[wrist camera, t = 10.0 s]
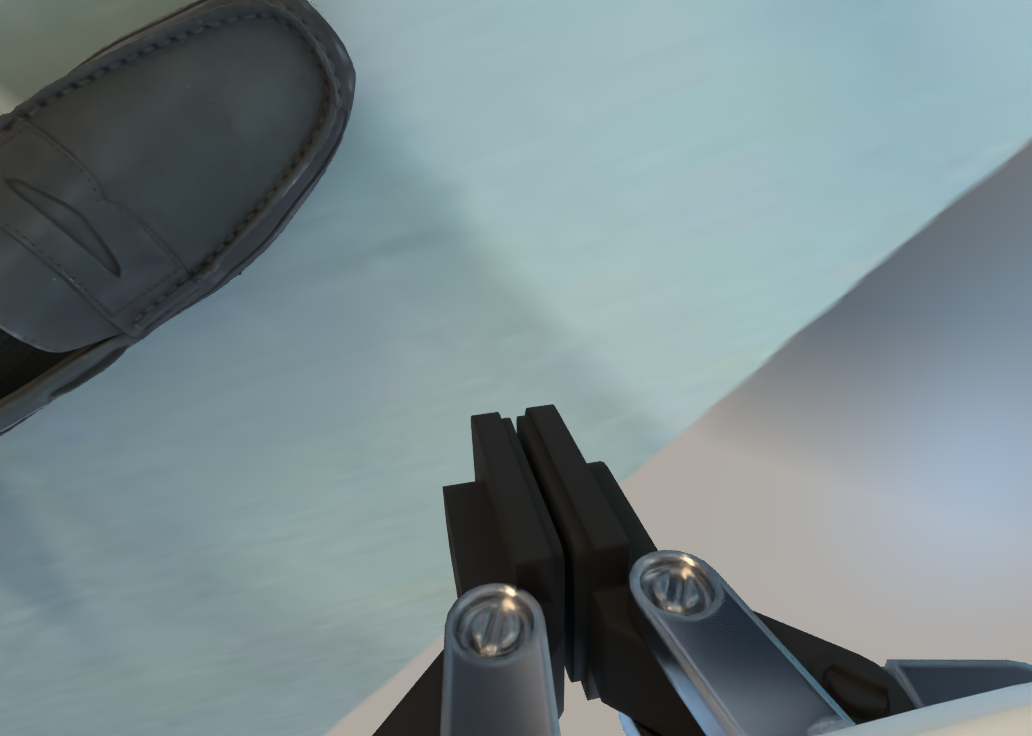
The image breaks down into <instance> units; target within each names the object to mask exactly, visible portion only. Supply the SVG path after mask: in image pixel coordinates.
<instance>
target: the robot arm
mask: <svg viewBox="0 0 1032 736" xmlns="http://www.w3.org/2000/svg"><path fill="white" fill-rule="evenodd" d="M471 429H472V443H473V456H474V470H475V482H469V483H462V484H456V485H450V486H444V487H443V496H444V506H445V515H446V524H447V532H448V539H449V547H450V553H451V560H452V566H453V572H454V578H455V584H456V590H457V596H458V599H457V600H456V601H455V603H454V604H453V606H452V607H451V609H450V611H449V612H448V615H447V620H446V624H445V637H444V649H443V651H442V652H441V653H440V654H439V655H438V657H437V658H436V659H435V660H434V662H433V663H432V664H431V666H429V668H428V669H427V670H426V671H425V673H424V674H423V675H422V676H421V677H420V678H419V680H418V681H417V682H416V683H415V685H414V686H413V687H412V688H411V690H410V691H409V692H408V693H407V694H406V695H405V697H404V698H403V699H402V700H401V702H400V703H399V704H398V705H397V706H396V708H395V709H394V710H393V711H392V713H391V714H390V715H389V716H388V717H387V718H386V720H385V721H384V722H383V723H382V725H381V726H380V727H379V728H378V729H377V731H376V732H375V733H374V734H373V735H372V736H561V735H560V727H559V718H560V717H561V715H562V713H563V711H564V667H565V668H566V670H567V674H568V676H569V679H570V681H571V682H577V681H581V683H582V686H583V689H584V692H585V695H586V698H587V700H591V699H595V698H601V701H602V702H603V703H605V704H607V705H609V706H610V707H612V708H614V709H616V710H618V712H619V719H620V722H621V724H622V727H623V730H624V731H625V733H626V735H627V736H1032V665H1030V664H1027V663H1023V662H1017V661H1010V660H887V662H886V664H885V667H880V666H879V665H877V664H876V663H874V662H872V661H870V660H869V659H867V658H865V657H863V656H861V655H859V654H856V653H854V652H851V651H849V650H847V649H844V648H842V647H840V646H837V645H835V644H832V643H830V642H827V641H825V640H823V639H820V638H818V637H815V636H813V635H811V634H808V633H806V632H803V631H801V630H798V629H796V628H793V627H791V626H789V625H786V624H784V623H781V622H779V621H777V620H774V619H772V618H769V617H767V616H764V615H762V614H760V613H757V612H755V611H752V610H751V609H750V608H749V607H748V606H747V604H746V603H745V602H744V601H743V600H742V599H741V598H740V597H739V596H738V595H737V594H736V593H735V591H734V590H733V589H732V588H731V587H730V586H729V585H728V584H727V583H726V581H725V580H724V579H723V578H722V577H721V576H720V575H719V574H718V573H717V572H716V570H714V569H713V568H712V567H711V566H709V565H708V564H707V563H706V562H705V561H703V560H701V559H699V558H697V557H695V556H693V555H691V554H688V553H684V552H681V551H674V550H673V551H672V550H661V551H658V550H657V548H656V547H655V545H654V543H653V542H652V540H651V538H650V537H649V535H648V533H647V532H646V530H645V529H644V527H643V525H642V523H641V522H640V520H639V518H638V517H637V515H636V513H635V512H634V510H633V508H632V507H631V505H630V504H629V502H628V500H627V498H626V497H625V495H624V494H623V492H622V490H621V489H620V487H619V485H618V483H617V482H616V480H615V479H614V477H613V475H612V474H611V472H610V470H609V469H608V467H607V466H606V464H605V463H604V462H601V461H599V462H593V463H586V461H585V460H584V458H583V456H582V454H581V452H580V450H579V449H578V447H577V445H576V443H575V441H574V440H573V438H572V436H571V434H570V432H569V431H568V429H567V427H566V425H565V423H564V422H563V420H562V418H561V416H560V414H559V413H558V411H557V409H556V407H555V406H554V405H544V406H537V407H530V408H526V411H525V415H524V416H518V417H517V433H516V431H515V428H514V426H513V424H512V421H511V419H510V418H503V419H501V416H500V414H499V412H494V413H487V414H480V415H473V416H471Z"/></svg>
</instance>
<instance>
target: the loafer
mask: <svg viewBox="0 0 1032 736" xmlns="http://www.w3.org/2000/svg"><path fill="white" fill-rule="evenodd" d="M355 77H356V73H355V70H354V68H353V63H352V61H351V59H350V57H349V55H348V53H347V50H346V48H345V46H344V44H343V43H342V41H341V40H340V38H339V37H338V35H337V34H336V32H335V31H334V30H333V29H332V27H331V26H330V25H329V24H328V23H327V22H326V20H325V19H324V18H323V17H322V16H321V15H320V14H319V13H318V12H317V11H316V10H315V9H314V8H313V7H312V6H311V5H310V4H309V2H308V1H307V0H197V1H195V2H193V3H191V4H189V5H186V6H184V7H182V8H180V9H178V10H176V11H174V12H172V13H170V14H168V15H166V16H163V17H161V18H159V19H157V20H155V21H153V22H151V23H149V24H147V25H145V26H143V27H141V28H139V29H137V30H135V31H133V32H131V33H129V34H127V35H125V36H123V37H121V38H119V39H117V40H116V41H114V42H113V43H111V44H109V45H106V46H105V47H103V48H102V49H101V50H99V51H98V52H97V53H95V54H94V55H92V56H91V57H89V58H88V59H87V60H85V61H84V62H82V63H81V64H80V65H79V66H77V67H76V68H75V69H73V70H72V71H71V72H70V73H69V74H67V75H66V76H64V77H62V78H60V79H59V80H57V81H55V82H53V83H52V84H49V85H47V86H45V87H44V88H43V89H41V90H40V91H39V92H38V93H36V94H35V95H34V96H32V97H31V98H29V99H28V100H26V101H25V102H23V103H22V104H20V105H18V106H17V107H15V109H14V110H13V111H12V112H10V113H7V114H2V115H1V116H0V436H2V435H3V434H4V433H6V432H8V431H10V430H11V429H14V428H15V427H17V426H18V425H19V424H21V423H22V422H23V421H25V420H26V419H27V418H28V417H30V416H32V415H33V414H34V413H36V412H37V411H38V410H40V409H42V408H43V407H44V406H46V405H48V404H49V403H50V402H52V401H53V400H54V399H56V398H58V397H60V396H62V395H64V394H66V393H68V392H70V391H72V390H74V389H76V388H77V387H79V386H80V385H82V384H84V383H85V382H87V381H88V380H90V379H91V378H93V377H94V376H96V375H97V374H99V373H101V372H102V371H104V370H105V369H106V368H108V367H109V366H110V365H111V364H112V363H114V362H115V361H116V360H117V359H118V358H119V357H120V356H121V355H122V354H123V353H124V352H125V350H126V349H128V348H129V347H131V346H132V345H134V344H136V343H137V342H139V341H140V340H142V339H144V338H145V337H146V336H147V335H148V334H150V333H151V332H152V331H153V330H155V329H156V328H158V327H159V326H160V325H162V324H163V323H165V322H166V321H168V320H169V319H171V318H173V317H174V316H176V315H178V314H180V313H181V312H182V311H184V310H186V309H188V308H189V307H191V306H192V305H194V304H196V303H198V302H199V301H201V300H203V299H205V298H206V297H208V296H209V295H211V294H213V293H214V292H216V291H217V290H219V289H220V288H221V287H222V286H224V285H225V284H227V283H228V282H229V281H230V280H232V279H233V278H234V277H236V276H237V275H241V273H242V271H243V270H244V269H245V268H246V267H247V266H248V265H250V264H251V263H252V262H253V261H254V260H255V259H256V258H257V257H258V256H259V255H261V254H262V253H263V252H264V251H265V250H266V249H267V248H268V247H269V246H270V245H271V244H272V242H273V241H274V240H275V239H276V238H277V237H278V235H279V234H280V233H281V232H282V231H283V230H284V228H285V227H286V225H287V224H288V223H289V221H290V220H291V219H292V218H293V216H294V215H295V214H296V212H297V211H298V209H299V208H300V207H301V205H302V204H303V203H304V201H305V200H306V199H307V197H308V196H309V194H310V193H311V192H312V191H313V189H314V187H315V186H316V185H317V183H318V181H319V180H320V178H321V177H322V176H323V174H324V173H325V172H326V169H327V167H328V165H329V163H330V162H331V160H332V158H333V157H334V155H335V153H336V151H337V149H338V147H339V145H340V143H341V141H342V138H343V134H344V131H345V128H346V126H347V123H348V120H349V117H350V113H351V109H352V104H353V98H354V90H355Z"/></svg>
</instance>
